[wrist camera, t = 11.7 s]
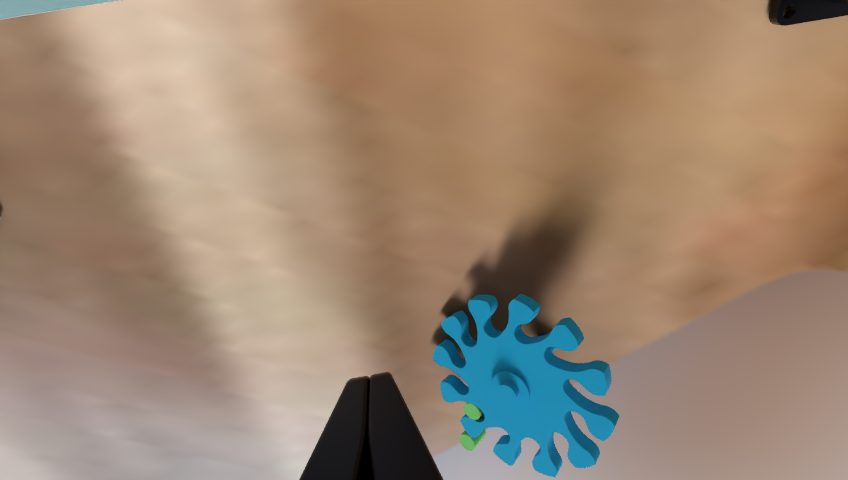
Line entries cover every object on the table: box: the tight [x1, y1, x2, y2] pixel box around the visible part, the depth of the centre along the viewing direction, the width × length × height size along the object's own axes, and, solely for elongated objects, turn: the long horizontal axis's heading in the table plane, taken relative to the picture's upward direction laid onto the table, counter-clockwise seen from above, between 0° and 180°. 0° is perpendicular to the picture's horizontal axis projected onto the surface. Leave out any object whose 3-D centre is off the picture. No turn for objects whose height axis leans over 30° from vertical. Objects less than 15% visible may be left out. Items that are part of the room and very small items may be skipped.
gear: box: [433, 293, 619, 477], centre depth 24 cm, size 11×6×10 cm
